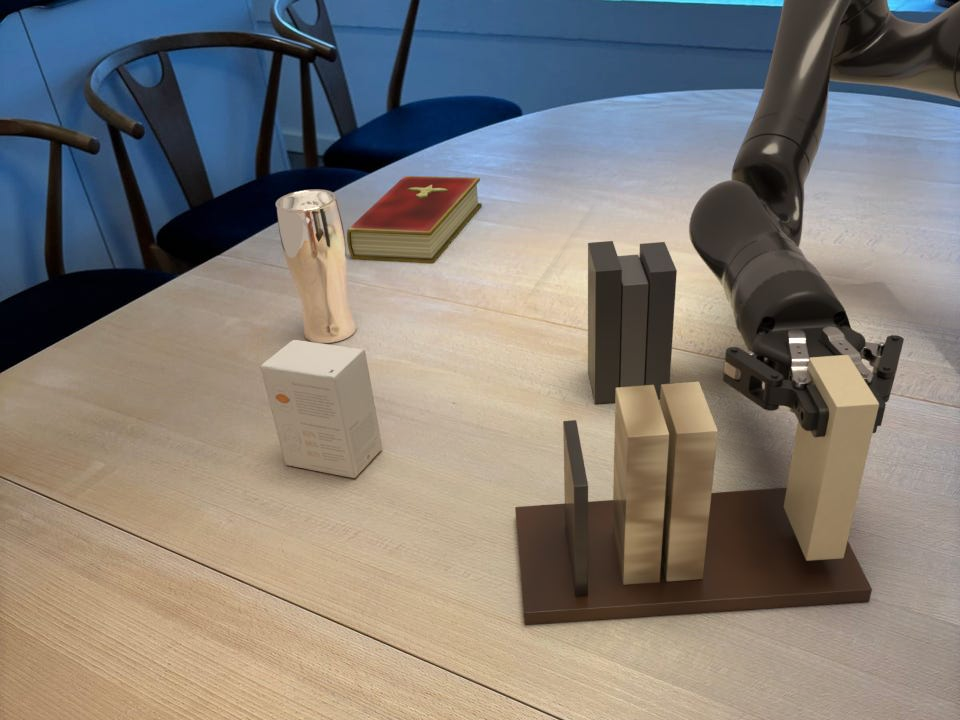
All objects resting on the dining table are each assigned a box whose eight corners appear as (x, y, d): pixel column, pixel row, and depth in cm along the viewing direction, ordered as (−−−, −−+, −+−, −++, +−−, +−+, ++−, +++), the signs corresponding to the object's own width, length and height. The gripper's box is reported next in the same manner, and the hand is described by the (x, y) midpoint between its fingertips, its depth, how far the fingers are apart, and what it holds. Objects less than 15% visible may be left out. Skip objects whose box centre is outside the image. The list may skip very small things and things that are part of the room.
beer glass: (371, 325, 115) (351, 193, 105) (333, 350, 111) (308, 214, 101) (327, 314, 119) (303, 185, 108) (288, 338, 114) (259, 205, 104)
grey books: (658, 366, 103) (665, 236, 94) (668, 398, 98) (677, 264, 89) (587, 371, 103) (587, 242, 94) (594, 404, 98) (595, 271, 89)
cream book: (818, 504, 78) (848, 354, 70) (843, 558, 73) (879, 403, 64) (783, 507, 79) (808, 357, 70) (806, 561, 73) (836, 406, 65)
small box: (384, 450, 95) (367, 348, 87) (355, 480, 91) (335, 376, 84) (314, 436, 97) (292, 337, 90) (283, 466, 94) (258, 364, 87)
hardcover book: (349, 258, 131) (344, 226, 128) (405, 203, 146) (401, 173, 143) (433, 263, 128) (430, 230, 125) (481, 206, 142) (479, 175, 140)
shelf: (818, 496, 84) (848, 340, 74) (869, 601, 73) (911, 436, 64) (515, 518, 85) (506, 366, 75) (524, 625, 74) (515, 465, 65)
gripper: (703, 275, 77) (751, 381, 64) (882, 261, 77) (967, 365, 64) (695, 363, 82) (739, 477, 69) (864, 350, 82) (938, 463, 69)
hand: (848, 423), depth 67 cm, fingers closed on cream book, 3 cm apart
